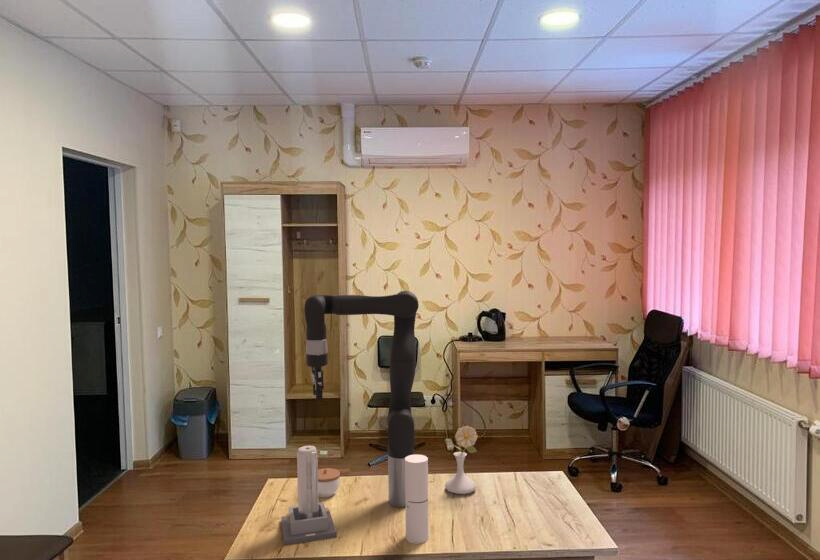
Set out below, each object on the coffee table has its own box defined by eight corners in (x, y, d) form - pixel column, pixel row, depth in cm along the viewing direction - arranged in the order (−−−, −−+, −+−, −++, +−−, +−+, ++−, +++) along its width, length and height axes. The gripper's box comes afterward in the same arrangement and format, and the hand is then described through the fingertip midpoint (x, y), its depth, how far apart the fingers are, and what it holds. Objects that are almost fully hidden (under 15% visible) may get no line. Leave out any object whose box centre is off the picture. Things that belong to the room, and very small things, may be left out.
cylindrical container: (421, 545, 170) (420, 464, 169) (401, 539, 174) (400, 460, 173) (433, 535, 176) (432, 457, 175) (413, 529, 180) (412, 453, 179)
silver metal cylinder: (321, 520, 184) (320, 445, 183) (314, 529, 178) (312, 451, 177) (303, 518, 185) (301, 443, 184) (295, 528, 179) (293, 450, 178)
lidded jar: (318, 503, 201) (317, 477, 200) (306, 492, 210) (306, 467, 209) (345, 495, 206) (344, 470, 206) (332, 485, 215) (332, 461, 215)
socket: (329, 514, 191) (329, 498, 191) (336, 536, 176) (336, 519, 176) (281, 521, 187) (281, 505, 187) (284, 544, 172) (284, 527, 171)
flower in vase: (439, 492, 208) (438, 425, 207) (455, 482, 217) (454, 418, 216) (470, 500, 201) (469, 431, 200) (485, 489, 210) (484, 423, 209)
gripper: (304, 349, 204) (305, 393, 205) (308, 356, 190) (309, 403, 191) (324, 348, 206) (325, 392, 207) (330, 354, 192) (331, 401, 193)
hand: (317, 397), depth 199 cm, fingers open, 8 cm apart
